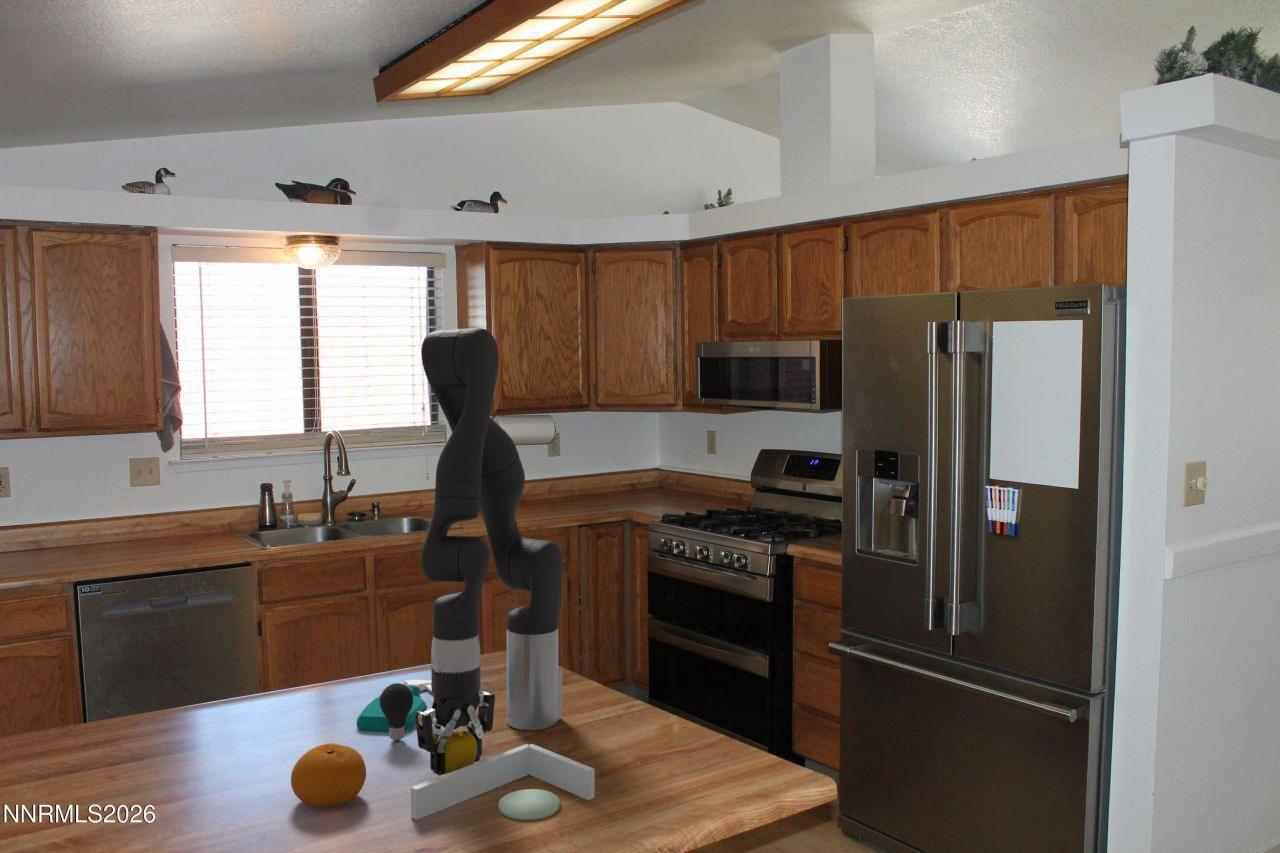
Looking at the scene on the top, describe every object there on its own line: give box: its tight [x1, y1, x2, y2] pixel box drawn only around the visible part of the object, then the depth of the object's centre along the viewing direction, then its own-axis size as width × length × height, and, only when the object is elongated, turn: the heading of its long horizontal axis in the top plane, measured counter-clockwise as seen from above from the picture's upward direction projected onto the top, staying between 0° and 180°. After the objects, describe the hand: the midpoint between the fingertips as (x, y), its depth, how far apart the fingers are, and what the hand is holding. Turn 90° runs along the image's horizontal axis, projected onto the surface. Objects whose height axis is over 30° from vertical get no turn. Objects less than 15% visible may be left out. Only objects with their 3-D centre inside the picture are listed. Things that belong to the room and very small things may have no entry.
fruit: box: [290, 743, 367, 808], centre depth 151 cm, size 10×10×8 cm
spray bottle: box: [356, 679, 432, 733], centre depth 191 cm, size 3×11×24 cm
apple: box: [437, 730, 477, 775], centre depth 160 cm, size 6×6×8 cm
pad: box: [497, 788, 561, 822], centre depth 150 cm, size 9×9×1 cm
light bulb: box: [379, 682, 413, 743], centre depth 174 cm, size 6×6×10 cm
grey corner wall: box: [410, 743, 596, 821], centre depth 150 cm, size 23×15×4 cm, turn 138°
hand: (456, 766), depth 160 cm, fingers closed on apple, 6 cm apart
